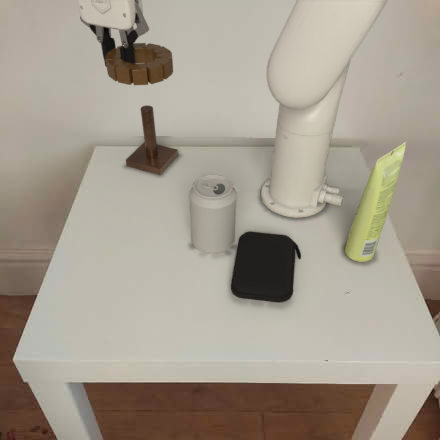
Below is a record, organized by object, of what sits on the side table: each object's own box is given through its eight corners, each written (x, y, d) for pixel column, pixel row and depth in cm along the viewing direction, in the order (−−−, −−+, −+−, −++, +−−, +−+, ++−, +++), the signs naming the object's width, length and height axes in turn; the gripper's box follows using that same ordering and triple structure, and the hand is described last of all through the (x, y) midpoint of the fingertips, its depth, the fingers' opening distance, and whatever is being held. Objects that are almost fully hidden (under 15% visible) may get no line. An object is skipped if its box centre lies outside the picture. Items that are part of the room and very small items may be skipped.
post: (178, 155, 97) (174, 103, 89) (160, 175, 92) (154, 122, 84) (145, 147, 99) (139, 95, 91) (126, 166, 94) (117, 113, 86)
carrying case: (297, 310, 69) (300, 245, 79) (300, 297, 67) (303, 232, 77) (228, 302, 70) (239, 239, 80) (229, 289, 68) (240, 225, 78)
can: (230, 260, 76) (232, 202, 67) (186, 253, 77) (183, 195, 68) (237, 231, 81) (240, 174, 72) (197, 225, 82) (195, 168, 73)
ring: (183, 64, 84) (183, 49, 82) (153, 90, 77) (152, 74, 75) (129, 53, 87) (127, 38, 85) (95, 77, 80) (92, 62, 78)
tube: (342, 239, 80) (371, 138, 65) (371, 241, 80) (407, 140, 65) (345, 262, 76) (376, 160, 62) (375, 264, 76) (414, 162, 61)
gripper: (42, -60, 69) (70, 65, 83) (136, -47, 65) (149, 83, 79) (72, -70, 73) (94, 51, 87) (161, -58, 69) (169, 66, 83)
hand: (120, 65), depth 83 cm, fingers closed on ring, 3 cm apart
